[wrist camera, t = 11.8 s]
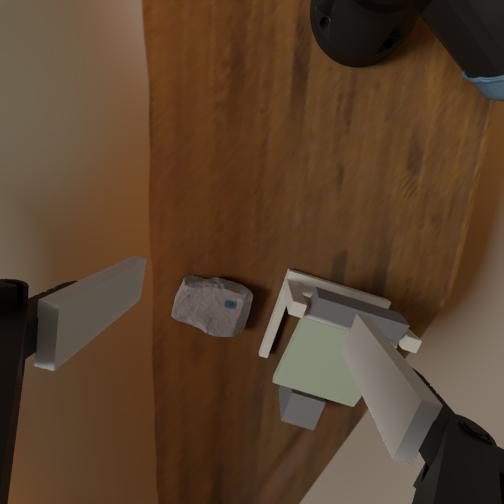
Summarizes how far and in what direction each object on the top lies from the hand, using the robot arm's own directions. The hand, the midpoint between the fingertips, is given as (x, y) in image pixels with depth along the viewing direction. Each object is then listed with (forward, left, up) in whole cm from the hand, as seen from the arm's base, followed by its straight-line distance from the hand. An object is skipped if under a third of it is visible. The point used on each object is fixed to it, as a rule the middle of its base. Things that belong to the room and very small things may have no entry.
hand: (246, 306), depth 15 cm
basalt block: (+26, +17, -23) cm, 39 cm away
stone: (+14, -3, -31) cm, 34 cm away
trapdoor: (+12, +17, -23) cm, 30 cm away
